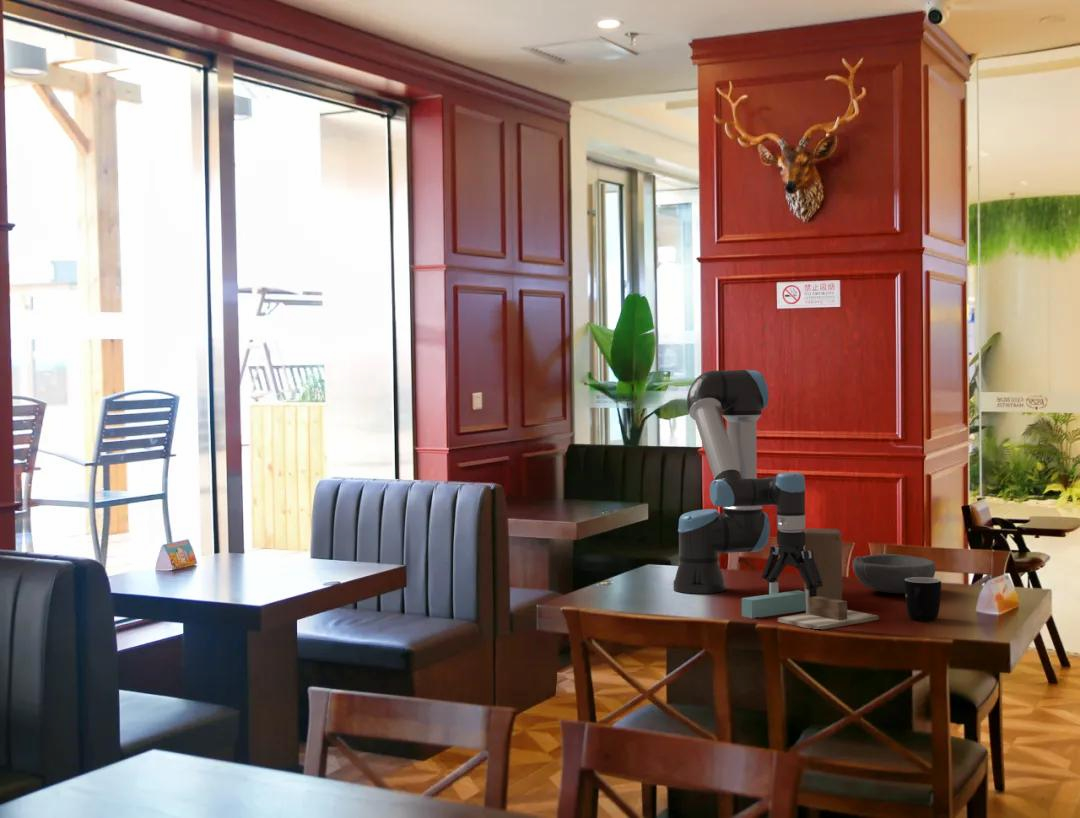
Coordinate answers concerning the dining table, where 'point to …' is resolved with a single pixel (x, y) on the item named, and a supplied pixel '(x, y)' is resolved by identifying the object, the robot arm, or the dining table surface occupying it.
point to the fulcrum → (827, 615)
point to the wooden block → (826, 560)
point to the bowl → (891, 571)
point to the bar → (774, 604)
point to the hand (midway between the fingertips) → (792, 609)
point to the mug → (923, 598)
